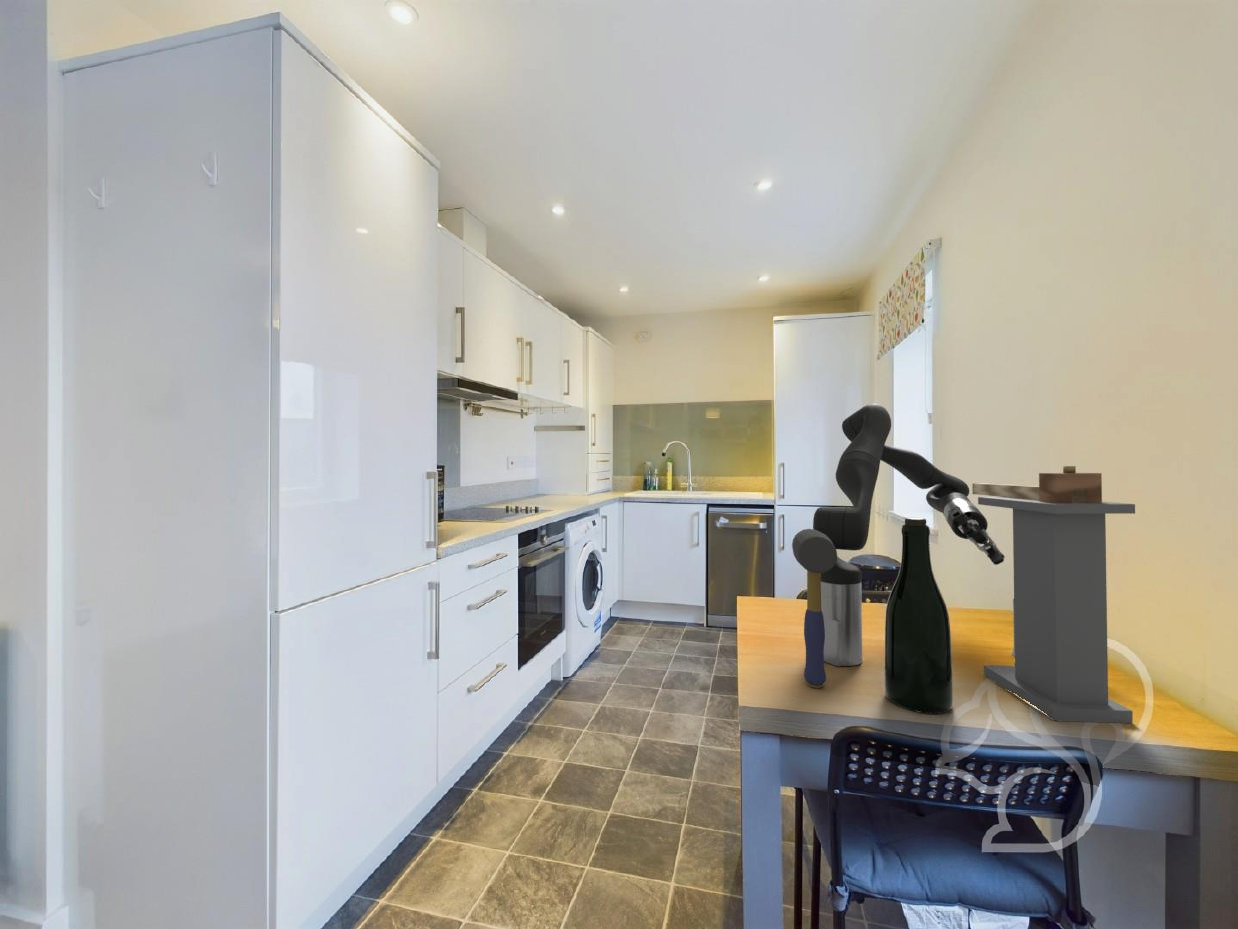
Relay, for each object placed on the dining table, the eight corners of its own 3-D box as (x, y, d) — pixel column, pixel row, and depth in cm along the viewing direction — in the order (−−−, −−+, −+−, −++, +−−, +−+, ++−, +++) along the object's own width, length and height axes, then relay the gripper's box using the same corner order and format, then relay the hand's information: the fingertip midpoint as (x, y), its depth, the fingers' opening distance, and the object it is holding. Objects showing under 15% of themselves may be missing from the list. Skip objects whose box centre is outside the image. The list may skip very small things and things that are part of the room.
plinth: (1138, 726, 80) (1135, 504, 80) (1058, 723, 81) (1055, 504, 81) (1043, 674, 100) (1041, 496, 100) (980, 673, 101) (978, 497, 101)
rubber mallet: (842, 702, 89) (839, 535, 89) (797, 698, 91) (795, 534, 91) (830, 674, 101) (828, 527, 101) (791, 671, 103) (789, 526, 103)
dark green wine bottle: (944, 693, 92) (942, 515, 93) (960, 720, 83) (957, 521, 83) (881, 685, 96) (878, 514, 96) (889, 710, 86) (886, 520, 86)
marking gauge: (1101, 502, 84) (1101, 465, 84) (1057, 503, 84) (1056, 466, 84) (994, 493, 110) (994, 466, 110) (961, 494, 111) (961, 466, 111)
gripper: (969, 546, 128) (991, 579, 113) (931, 506, 128) (947, 534, 113) (998, 530, 124) (1024, 562, 110) (958, 489, 124) (980, 515, 110)
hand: (985, 548), depth 112 cm, fingers open, 8 cm apart
